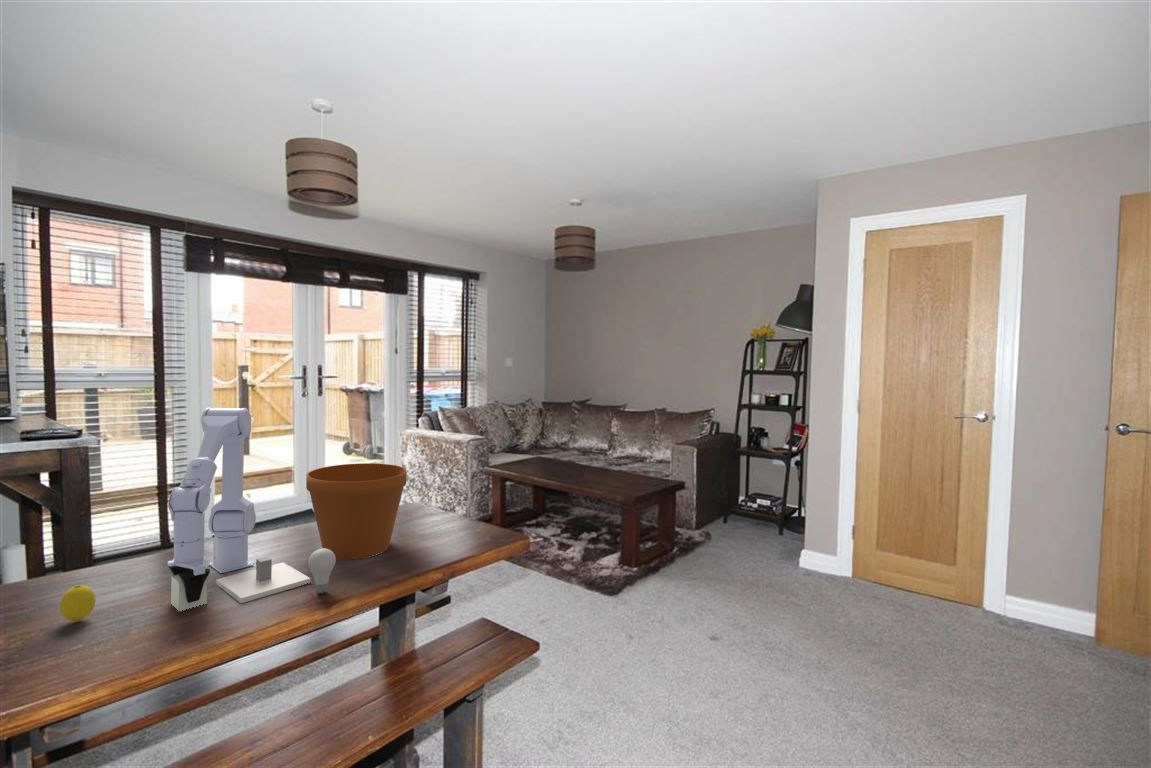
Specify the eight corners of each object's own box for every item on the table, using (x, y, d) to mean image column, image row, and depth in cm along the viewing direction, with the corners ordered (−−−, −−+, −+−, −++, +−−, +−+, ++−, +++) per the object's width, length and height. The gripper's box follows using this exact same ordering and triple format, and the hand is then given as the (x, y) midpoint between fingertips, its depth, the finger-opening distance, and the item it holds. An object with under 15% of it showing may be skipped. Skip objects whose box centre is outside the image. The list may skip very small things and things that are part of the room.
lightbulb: (340, 591, 133) (341, 548, 133) (317, 600, 128) (318, 555, 128) (325, 586, 136) (325, 543, 136) (302, 594, 131) (302, 549, 131)
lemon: (59, 621, 115) (59, 584, 114) (94, 613, 119) (94, 577, 118) (60, 631, 111) (60, 592, 110) (96, 622, 115) (96, 585, 114)
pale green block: (171, 604, 124) (171, 576, 124) (198, 596, 128) (198, 569, 128) (178, 611, 121) (178, 582, 120) (206, 603, 125) (206, 575, 125)
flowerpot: (344, 573, 145) (346, 486, 144) (285, 552, 159) (286, 473, 158) (424, 545, 168) (426, 470, 168) (366, 528, 183) (367, 460, 182)
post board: (216, 584, 136) (216, 559, 135) (282, 566, 148) (283, 544, 148) (241, 603, 126) (241, 577, 125) (310, 582, 138) (310, 559, 138)
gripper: (158, 535, 125) (158, 593, 126) (178, 550, 116) (178, 612, 117) (194, 529, 131) (194, 584, 131) (216, 543, 122) (215, 602, 122)
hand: (189, 597), depth 124 cm, fingers closed on pale green block, 5 cm apart
